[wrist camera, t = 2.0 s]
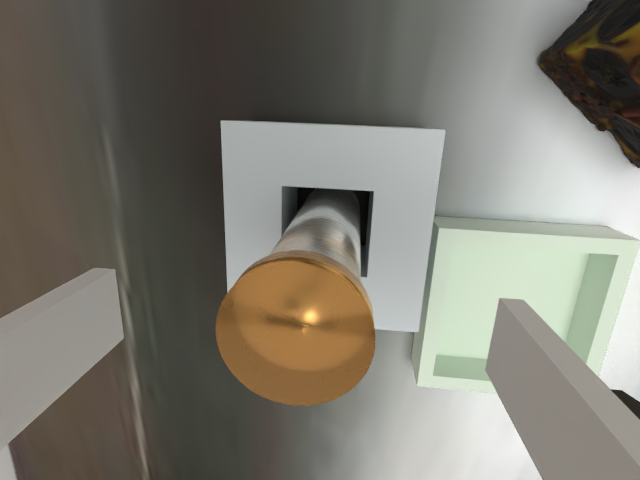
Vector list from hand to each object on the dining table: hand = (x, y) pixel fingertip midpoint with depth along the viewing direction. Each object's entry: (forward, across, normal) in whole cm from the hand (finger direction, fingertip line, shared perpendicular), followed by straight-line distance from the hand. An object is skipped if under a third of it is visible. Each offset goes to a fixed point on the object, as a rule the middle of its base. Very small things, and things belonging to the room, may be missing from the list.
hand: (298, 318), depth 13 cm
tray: (+16, +13, -6) cm, 21 cm away
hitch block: (+16, 0, 0) cm, 16 cm away
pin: (+16, 0, 0) cm, 16 cm away
